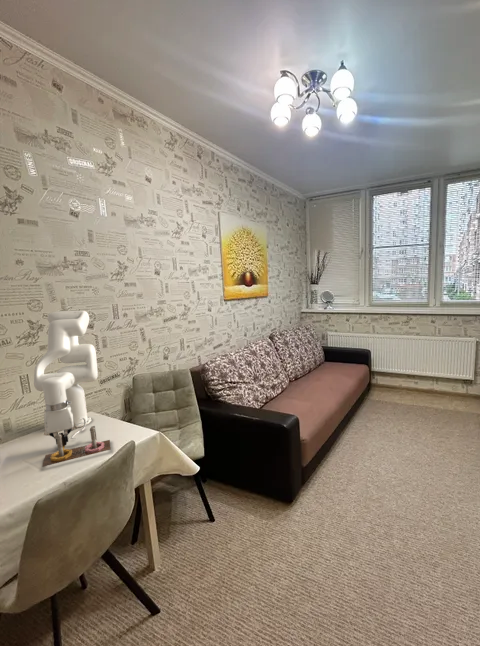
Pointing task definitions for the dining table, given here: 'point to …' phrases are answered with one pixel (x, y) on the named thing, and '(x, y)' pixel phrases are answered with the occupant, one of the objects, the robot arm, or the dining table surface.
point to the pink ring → (96, 444)
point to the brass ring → (63, 451)
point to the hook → (82, 429)
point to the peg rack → (76, 449)
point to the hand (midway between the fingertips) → (62, 444)
